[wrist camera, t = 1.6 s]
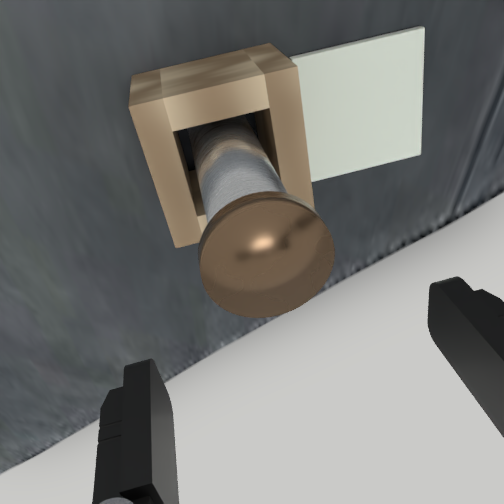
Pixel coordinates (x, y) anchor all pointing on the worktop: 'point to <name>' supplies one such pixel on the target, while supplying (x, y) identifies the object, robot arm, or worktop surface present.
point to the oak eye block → (213, 109)
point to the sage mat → (362, 102)
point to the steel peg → (254, 226)
